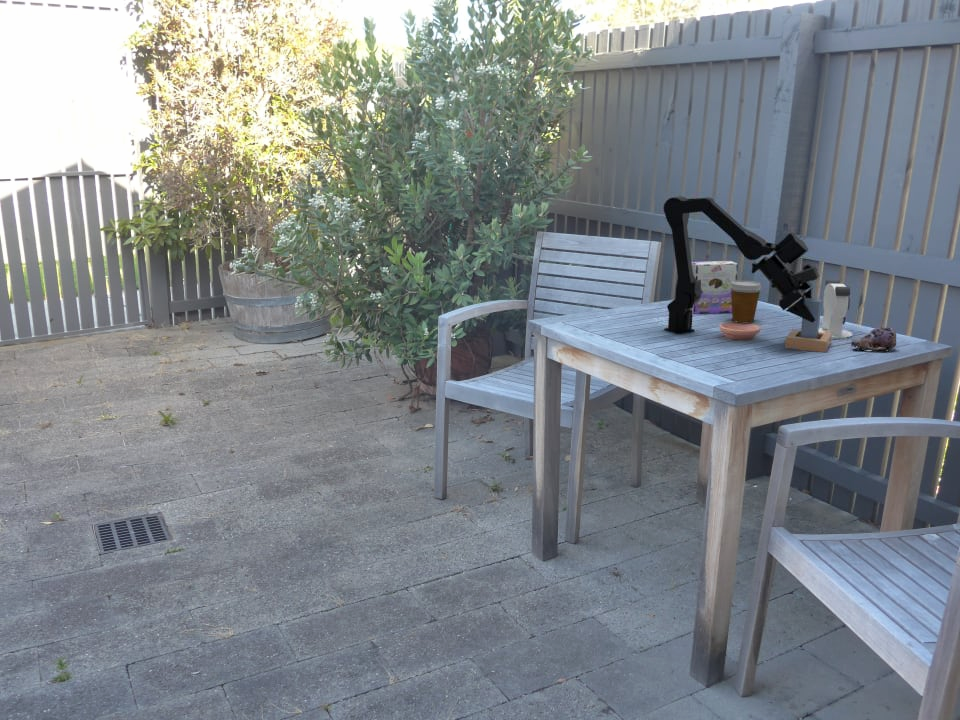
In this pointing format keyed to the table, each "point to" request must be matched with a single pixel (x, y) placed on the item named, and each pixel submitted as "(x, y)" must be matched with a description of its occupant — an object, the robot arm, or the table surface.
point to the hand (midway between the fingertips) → (816, 318)
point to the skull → (877, 340)
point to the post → (814, 306)
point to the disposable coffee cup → (744, 300)
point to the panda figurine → (835, 309)
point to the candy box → (714, 286)
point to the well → (808, 341)
